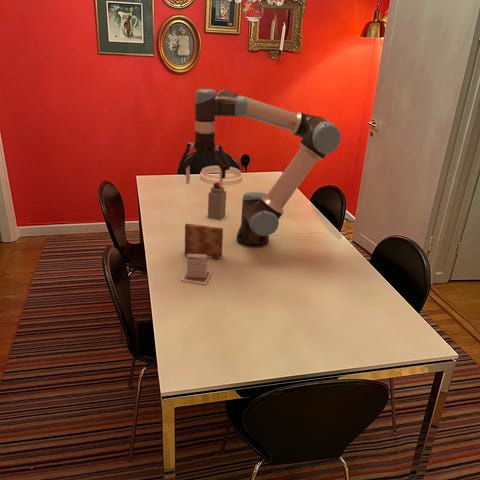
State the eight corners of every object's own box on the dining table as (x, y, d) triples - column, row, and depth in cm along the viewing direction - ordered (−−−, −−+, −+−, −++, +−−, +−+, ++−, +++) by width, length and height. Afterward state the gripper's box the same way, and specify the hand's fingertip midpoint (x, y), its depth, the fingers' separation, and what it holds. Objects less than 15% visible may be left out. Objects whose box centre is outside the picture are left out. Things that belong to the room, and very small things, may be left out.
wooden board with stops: (222, 254, 204) (223, 227, 198) (219, 259, 199) (221, 231, 194) (187, 249, 206) (187, 222, 201) (183, 254, 202) (183, 226, 196)
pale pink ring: (195, 183, 292) (195, 174, 290) (205, 171, 316) (205, 163, 314) (237, 187, 288) (238, 179, 286) (244, 175, 313) (245, 167, 310)
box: (207, 273, 186) (207, 253, 183) (206, 278, 182) (207, 259, 179) (187, 272, 186) (187, 253, 182) (186, 277, 182) (186, 258, 178)
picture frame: (212, 273, 188) (212, 271, 188) (205, 285, 179) (206, 283, 179) (188, 269, 190) (188, 268, 189) (180, 281, 181) (180, 279, 180)
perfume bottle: (207, 217, 241) (208, 184, 234) (213, 213, 247) (214, 180, 239) (219, 220, 239) (221, 186, 231) (225, 215, 245) (226, 182, 237)
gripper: (238, 132, 182) (236, 184, 191) (176, 127, 185) (176, 178, 194) (235, 136, 175) (233, 190, 184) (170, 131, 178) (171, 184, 187)
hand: (204, 184), depth 189 cm, fingers open, 13 cm apart
